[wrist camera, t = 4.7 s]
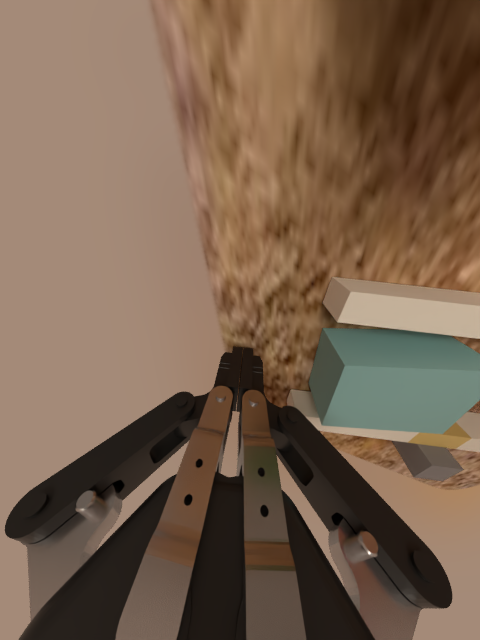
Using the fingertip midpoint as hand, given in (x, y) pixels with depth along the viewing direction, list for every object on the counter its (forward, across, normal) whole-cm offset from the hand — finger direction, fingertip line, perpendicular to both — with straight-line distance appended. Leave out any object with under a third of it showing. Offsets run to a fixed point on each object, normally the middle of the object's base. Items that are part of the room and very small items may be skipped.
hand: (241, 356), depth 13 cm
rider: (+2, -10, 0) cm, 10 cm away
